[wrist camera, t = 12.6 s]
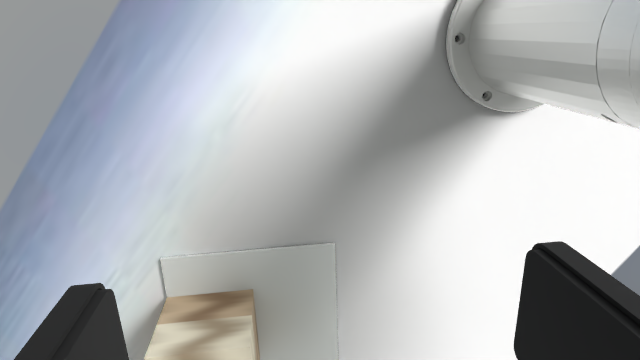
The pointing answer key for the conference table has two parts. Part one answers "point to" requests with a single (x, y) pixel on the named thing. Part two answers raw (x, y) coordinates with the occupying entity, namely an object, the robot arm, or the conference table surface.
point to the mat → (271, 294)
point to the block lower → (211, 308)
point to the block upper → (204, 340)
